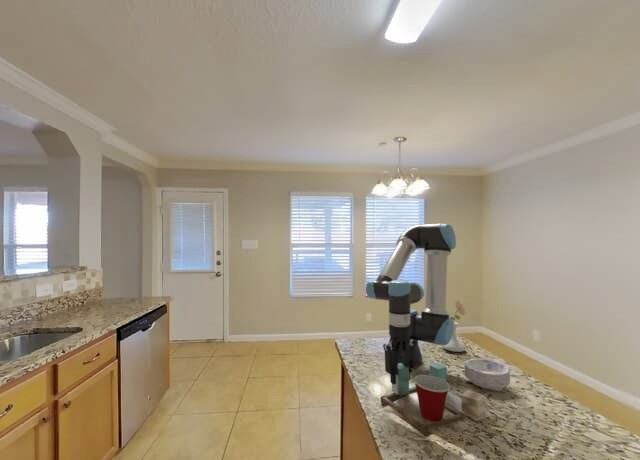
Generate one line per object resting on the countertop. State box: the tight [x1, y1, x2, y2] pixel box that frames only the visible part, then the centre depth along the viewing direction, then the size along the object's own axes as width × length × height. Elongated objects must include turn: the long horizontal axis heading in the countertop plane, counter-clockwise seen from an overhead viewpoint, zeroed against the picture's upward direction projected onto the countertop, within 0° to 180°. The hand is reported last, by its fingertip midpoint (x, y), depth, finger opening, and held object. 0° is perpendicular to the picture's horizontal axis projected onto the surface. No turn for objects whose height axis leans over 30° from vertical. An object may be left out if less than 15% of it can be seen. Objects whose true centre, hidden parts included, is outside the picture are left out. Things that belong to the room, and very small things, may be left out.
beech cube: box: [460, 389, 486, 417], centre depth 95 cm, size 5×5×5 cm
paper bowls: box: [464, 358, 511, 392], centre depth 115 cm, size 15×15×8 cm
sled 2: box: [429, 362, 492, 422], centre depth 100 cm, size 20×7×10 cm, turn 26°
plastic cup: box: [413, 374, 451, 423], centre depth 93 cm, size 11×11×12 cm
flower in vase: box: [441, 300, 466, 353], centre depth 154 cm, size 13×11×25 cm
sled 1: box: [380, 363, 466, 438], centre depth 98 cm, size 22×16×11 cm
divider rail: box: [453, 407, 479, 425], centre depth 98 cm, size 22×1×2 cm, turn 26°
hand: (400, 391), depth 106 cm, fingers closed on sled 1, 4 cm apart
